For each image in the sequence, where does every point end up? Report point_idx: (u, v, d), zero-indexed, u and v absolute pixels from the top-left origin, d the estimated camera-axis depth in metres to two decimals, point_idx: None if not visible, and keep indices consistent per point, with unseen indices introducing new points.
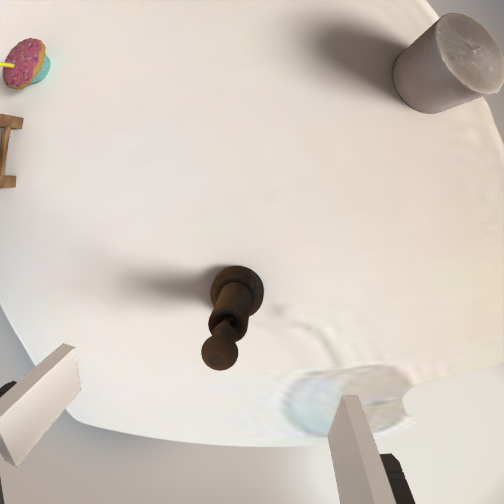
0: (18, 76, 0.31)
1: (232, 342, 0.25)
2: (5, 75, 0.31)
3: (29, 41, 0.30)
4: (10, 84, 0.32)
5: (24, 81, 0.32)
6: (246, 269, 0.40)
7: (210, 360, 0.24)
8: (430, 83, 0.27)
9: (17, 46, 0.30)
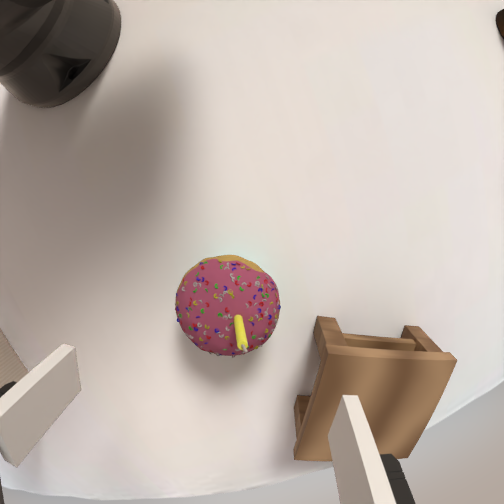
0: (264, 303, 0.24)
1: None
2: (249, 341, 0.24)
3: (187, 289, 0.24)
4: (271, 327, 0.25)
5: (275, 292, 0.25)
6: (499, 15, 0.21)
7: None
8: None
9: (191, 317, 0.24)
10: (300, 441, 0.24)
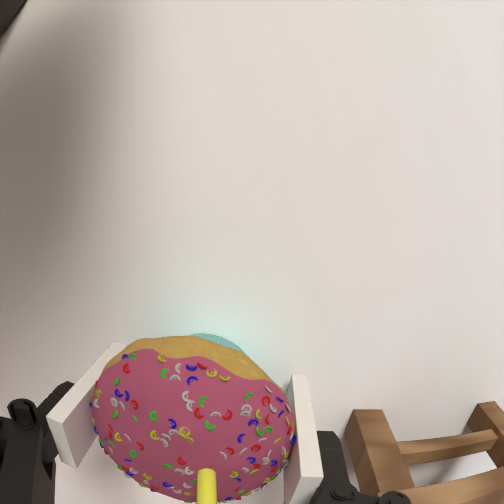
0: (262, 444, 0.10)
1: None
2: (233, 495, 0.10)
3: (102, 406, 0.10)
4: (277, 470, 0.10)
5: (287, 416, 0.10)
6: None
7: None
8: None
9: (117, 456, 0.10)
10: None
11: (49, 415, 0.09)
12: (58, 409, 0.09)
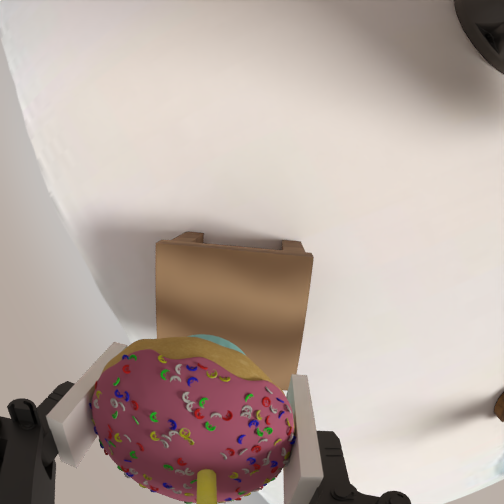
0: (262, 445, 0.10)
1: None
2: (233, 496, 0.10)
3: (102, 407, 0.10)
4: (277, 471, 0.10)
5: (287, 417, 0.10)
6: None
7: None
8: None
9: (117, 457, 0.10)
10: (186, 245, 0.24)
11: (49, 415, 0.09)
12: (58, 409, 0.09)
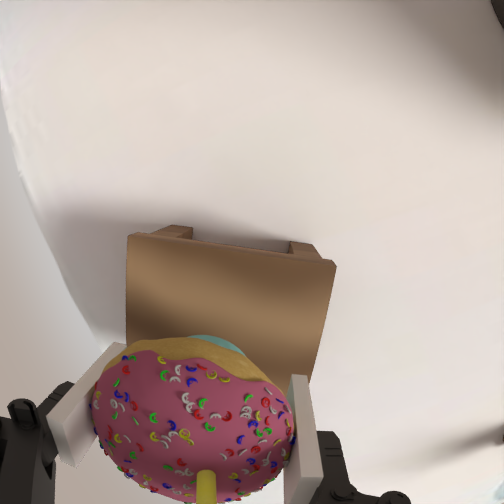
0: (262, 446, 0.10)
1: None
2: (233, 496, 0.10)
3: (102, 407, 0.10)
4: (277, 471, 0.10)
5: (286, 418, 0.10)
6: None
7: None
8: None
9: (117, 457, 0.10)
10: (168, 241, 0.18)
11: (49, 415, 0.09)
12: (58, 409, 0.09)
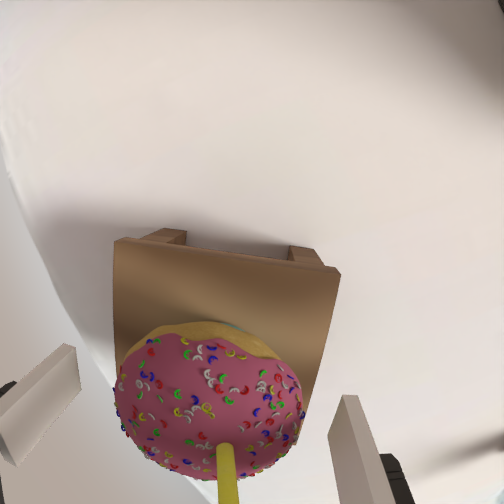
0: (275, 419, 0.11)
1: None
2: (248, 471, 0.11)
3: (127, 389, 0.11)
4: (288, 446, 0.12)
5: (296, 393, 0.12)
6: None
7: None
8: None
9: (140, 436, 0.11)
10: (157, 247, 0.16)
11: None
12: None
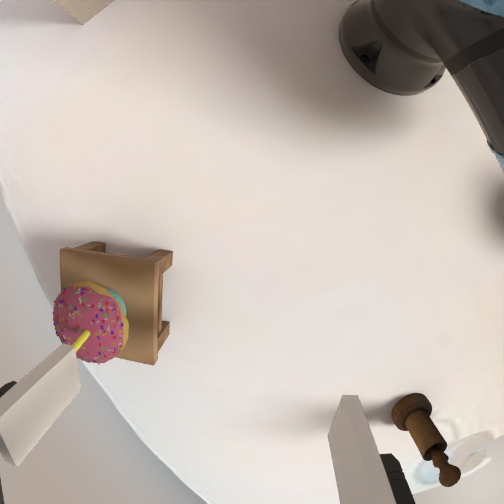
0: (105, 321, 0.26)
1: (459, 469, 0.27)
2: (101, 351, 0.27)
3: (56, 309, 0.27)
4: (118, 340, 0.27)
5: (117, 312, 0.27)
6: (422, 396, 0.42)
7: (449, 483, 0.26)
8: None
9: (59, 331, 0.26)
10: (77, 252, 0.32)
11: None
12: None
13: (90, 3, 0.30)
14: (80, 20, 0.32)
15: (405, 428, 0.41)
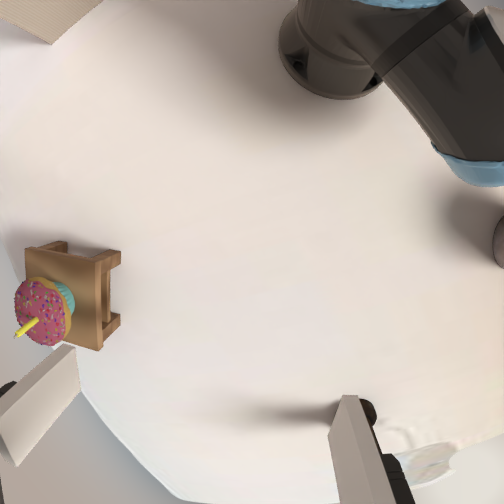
0: (50, 310, 0.30)
1: None
2: (48, 335, 0.30)
3: (15, 298, 0.30)
4: (61, 327, 0.31)
5: (59, 303, 0.30)
6: (366, 402, 0.44)
7: None
8: None
9: (18, 317, 0.30)
10: (37, 251, 0.35)
11: None
12: None
13: (55, 25, 0.33)
14: (48, 41, 0.35)
15: None
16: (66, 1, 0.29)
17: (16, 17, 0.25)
